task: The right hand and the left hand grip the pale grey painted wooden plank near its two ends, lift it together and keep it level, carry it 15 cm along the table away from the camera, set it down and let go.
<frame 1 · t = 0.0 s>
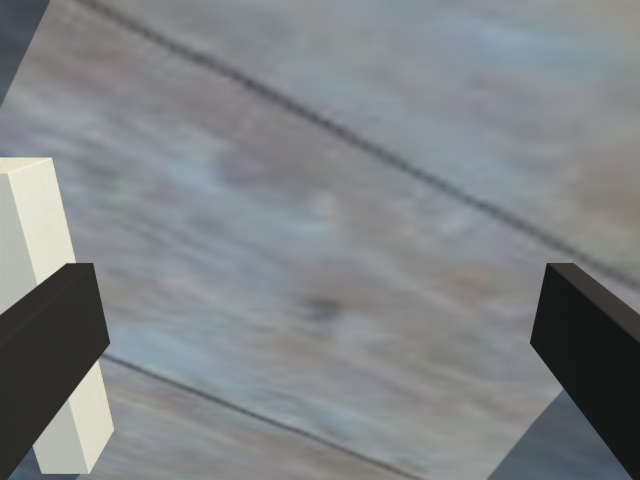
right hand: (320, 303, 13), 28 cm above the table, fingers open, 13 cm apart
plank: (63, 311, 45), on the table
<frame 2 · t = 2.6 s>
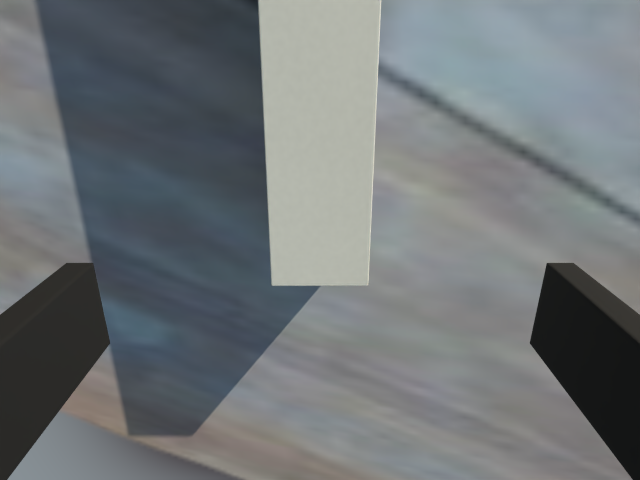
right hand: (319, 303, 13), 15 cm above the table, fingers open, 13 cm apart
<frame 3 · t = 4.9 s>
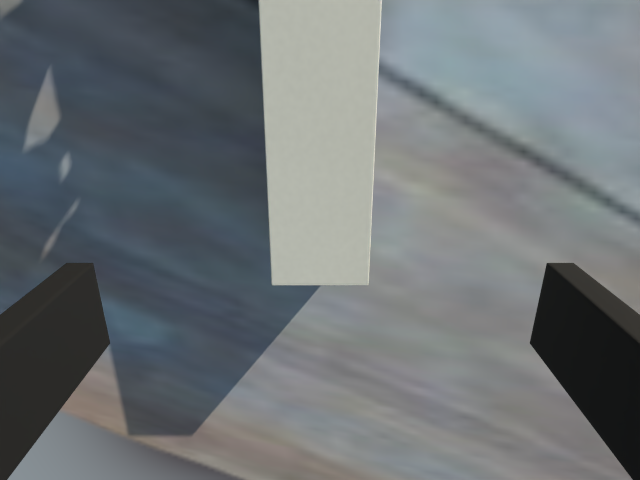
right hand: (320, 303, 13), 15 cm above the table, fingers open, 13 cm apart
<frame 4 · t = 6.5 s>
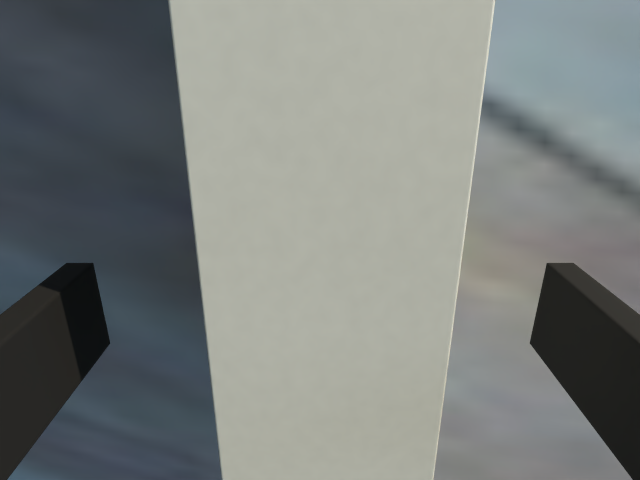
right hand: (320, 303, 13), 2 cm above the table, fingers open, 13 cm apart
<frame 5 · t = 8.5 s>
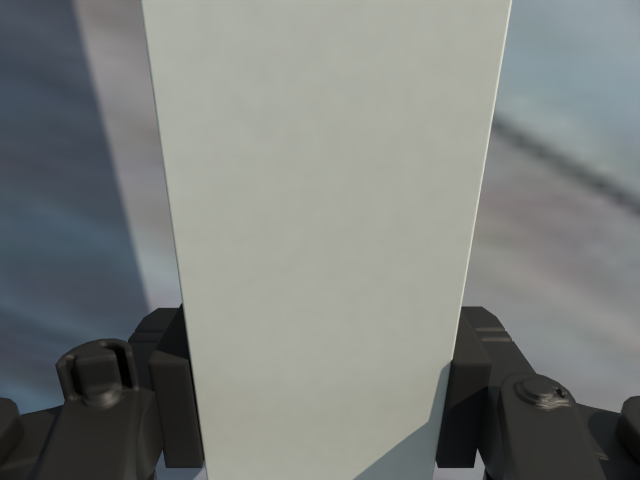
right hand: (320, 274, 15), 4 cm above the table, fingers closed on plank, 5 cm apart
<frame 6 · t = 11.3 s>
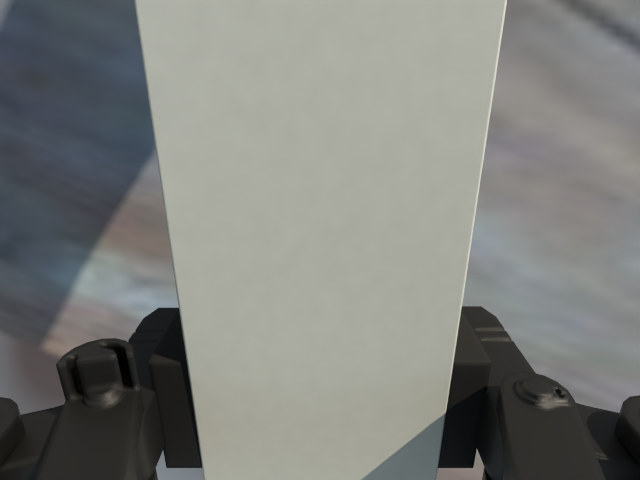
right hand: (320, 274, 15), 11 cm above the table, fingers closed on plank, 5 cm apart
when the right hand's fingers open (0 cm above the table, at t = 14.1 s): plank stays where it is, on the table.
when the left hand's fingers open (2 cm above the table, at t = 14.2 s): plank stays where it is, on the table.
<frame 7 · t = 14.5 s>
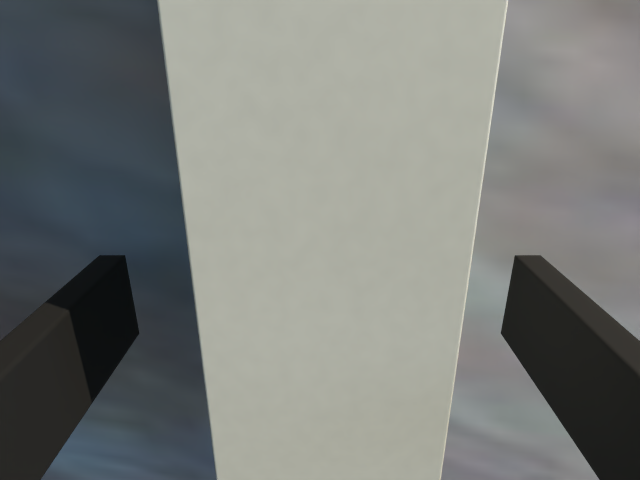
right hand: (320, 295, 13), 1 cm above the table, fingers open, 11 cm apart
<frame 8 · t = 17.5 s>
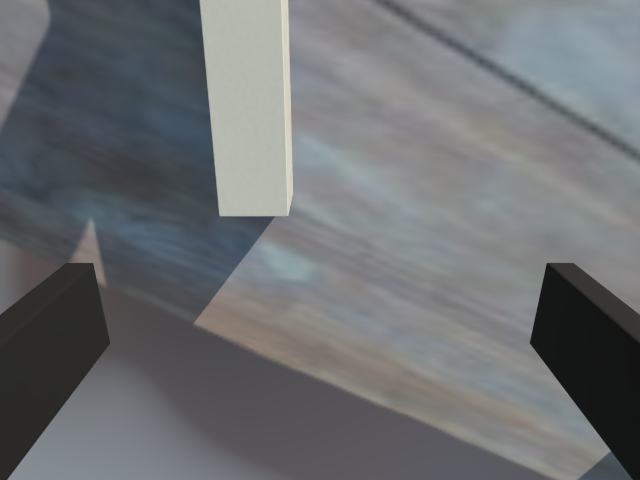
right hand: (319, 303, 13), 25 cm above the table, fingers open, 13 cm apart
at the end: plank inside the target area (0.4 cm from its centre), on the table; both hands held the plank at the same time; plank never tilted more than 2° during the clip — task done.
